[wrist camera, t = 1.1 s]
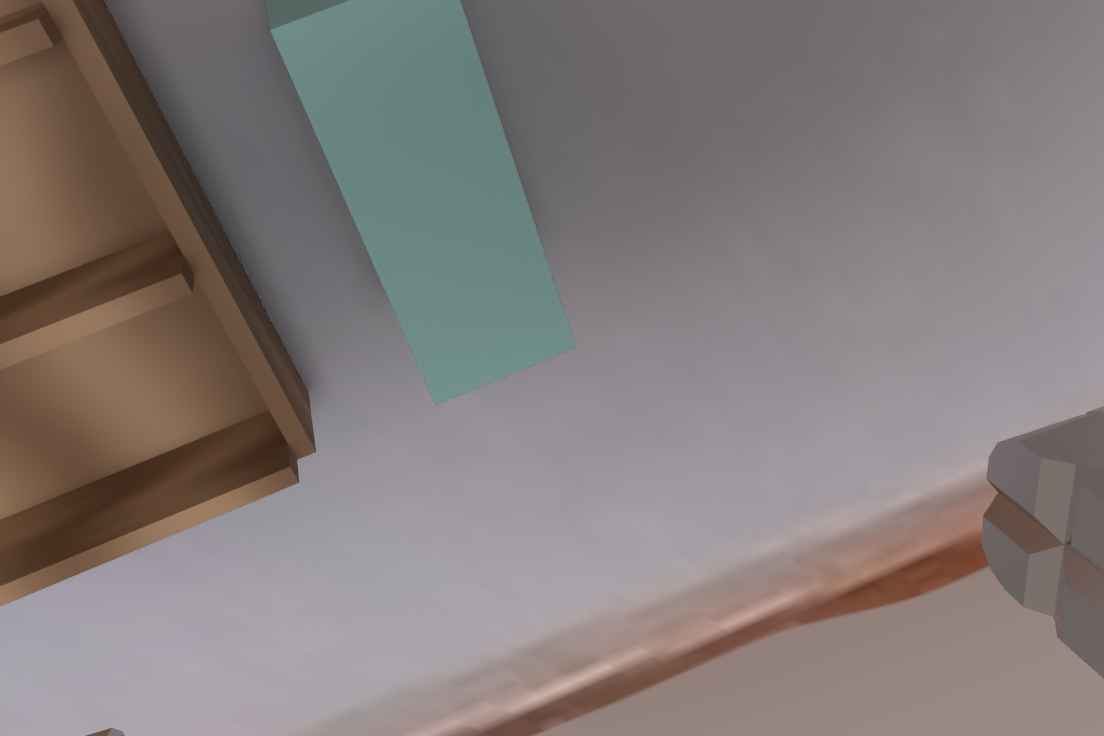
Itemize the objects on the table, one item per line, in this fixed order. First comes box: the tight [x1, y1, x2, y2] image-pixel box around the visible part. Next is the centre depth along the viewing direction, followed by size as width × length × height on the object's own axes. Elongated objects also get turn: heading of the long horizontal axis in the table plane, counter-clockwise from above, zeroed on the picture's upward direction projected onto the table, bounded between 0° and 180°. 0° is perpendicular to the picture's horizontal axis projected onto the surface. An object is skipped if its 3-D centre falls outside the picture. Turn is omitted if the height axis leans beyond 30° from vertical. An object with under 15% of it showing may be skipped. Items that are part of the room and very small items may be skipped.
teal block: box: [265, 0, 576, 405], centre depth 27 cm, size 4×10×7 cm, turn 17°
